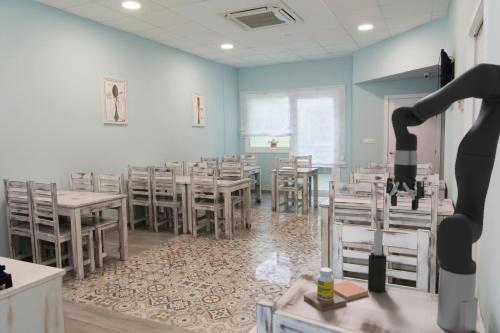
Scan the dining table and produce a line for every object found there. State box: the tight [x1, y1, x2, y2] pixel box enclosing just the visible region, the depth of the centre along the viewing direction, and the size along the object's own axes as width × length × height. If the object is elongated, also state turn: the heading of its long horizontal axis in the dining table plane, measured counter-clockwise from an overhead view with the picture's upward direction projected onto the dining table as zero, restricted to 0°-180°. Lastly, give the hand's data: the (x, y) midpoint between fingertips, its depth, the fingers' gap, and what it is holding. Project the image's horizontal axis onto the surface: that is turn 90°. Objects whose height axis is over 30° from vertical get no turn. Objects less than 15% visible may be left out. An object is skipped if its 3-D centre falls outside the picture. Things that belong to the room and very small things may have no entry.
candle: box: [367, 222, 387, 295], centre depth 130 cm, size 5×5×25 cm
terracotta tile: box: [334, 280, 369, 302], centre depth 129 cm, size 10×10×2 cm
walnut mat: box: [303, 291, 347, 312], centre depth 122 cm, size 10×10×2 cm
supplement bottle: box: [316, 266, 335, 301], centre depth 121 cm, size 5×5×10 cm
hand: (403, 208), depth 129 cm, fingers open, 8 cm apart
